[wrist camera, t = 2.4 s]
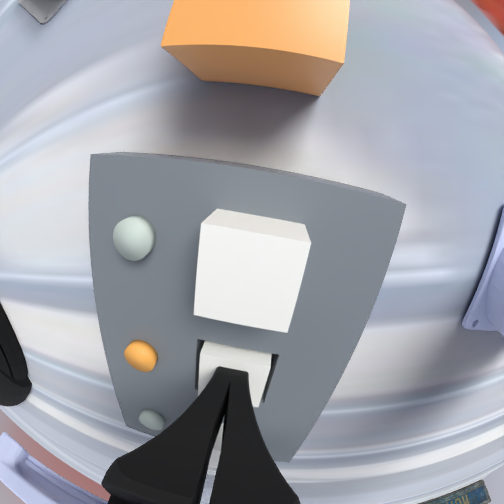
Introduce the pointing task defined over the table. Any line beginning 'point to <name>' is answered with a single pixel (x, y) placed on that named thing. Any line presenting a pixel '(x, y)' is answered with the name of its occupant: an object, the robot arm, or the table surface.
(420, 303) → the table surface
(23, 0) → the emergency button
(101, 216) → the breaker board
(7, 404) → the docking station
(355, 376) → the table surface
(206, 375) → the block
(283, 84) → the orange rounded cube
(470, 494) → the metal box
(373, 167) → the table surface
